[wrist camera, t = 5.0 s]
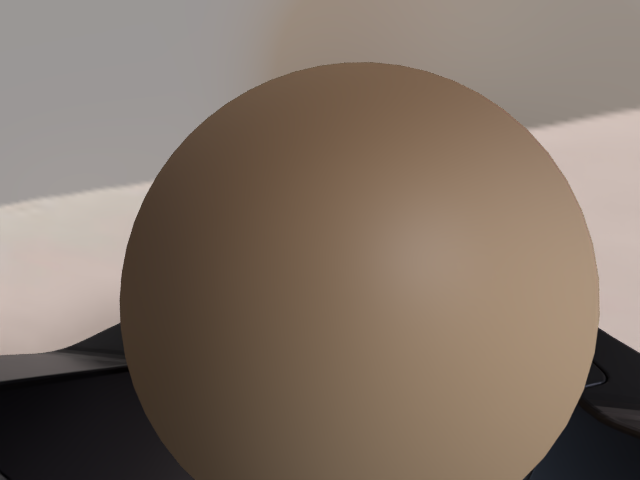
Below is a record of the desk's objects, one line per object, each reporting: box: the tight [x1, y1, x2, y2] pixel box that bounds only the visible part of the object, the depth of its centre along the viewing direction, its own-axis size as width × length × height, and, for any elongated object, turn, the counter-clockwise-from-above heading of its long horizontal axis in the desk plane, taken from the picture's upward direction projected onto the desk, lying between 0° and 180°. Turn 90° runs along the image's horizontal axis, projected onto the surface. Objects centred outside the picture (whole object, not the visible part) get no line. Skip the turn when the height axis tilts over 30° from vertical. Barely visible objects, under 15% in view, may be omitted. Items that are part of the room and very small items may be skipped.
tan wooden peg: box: [120, 62, 600, 480], centre depth 9 cm, size 4×4×12 cm
